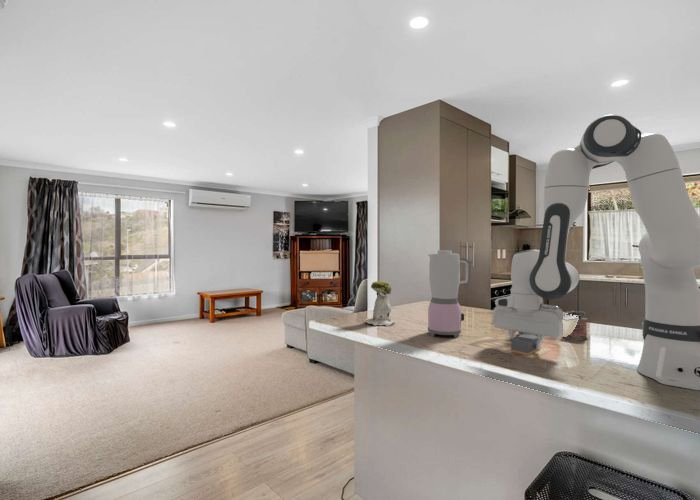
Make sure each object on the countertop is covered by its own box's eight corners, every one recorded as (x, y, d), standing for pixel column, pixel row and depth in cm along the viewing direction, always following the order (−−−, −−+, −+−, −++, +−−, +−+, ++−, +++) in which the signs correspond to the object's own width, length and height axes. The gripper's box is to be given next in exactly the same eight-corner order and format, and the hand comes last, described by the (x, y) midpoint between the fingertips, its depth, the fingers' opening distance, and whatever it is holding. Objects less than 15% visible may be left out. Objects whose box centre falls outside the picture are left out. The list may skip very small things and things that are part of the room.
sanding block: (540, 349, 116) (540, 336, 116) (528, 355, 110) (528, 341, 110) (524, 346, 120) (524, 333, 119) (511, 351, 114) (511, 338, 113)
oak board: (551, 354, 116) (552, 349, 116) (533, 364, 106) (533, 358, 106) (485, 340, 132) (485, 336, 132) (464, 348, 123) (464, 343, 123)
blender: (428, 337, 136) (428, 250, 136) (426, 330, 148) (426, 250, 148) (472, 339, 134) (473, 250, 133) (467, 331, 146) (467, 250, 145)
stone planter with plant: (364, 320, 167) (364, 279, 167) (393, 320, 167) (393, 279, 167) (365, 326, 155) (365, 282, 155) (396, 326, 155) (396, 282, 155)
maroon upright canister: (563, 339, 134) (564, 311, 134) (560, 336, 138) (561, 309, 138) (588, 340, 132) (589, 312, 132) (585, 338, 136) (585, 310, 136)
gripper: (567, 305, 109) (566, 352, 109) (499, 297, 124) (499, 338, 124) (559, 307, 105) (558, 356, 105) (490, 299, 120) (490, 342, 120)
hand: (525, 346), depth 115 cm, fingers closed on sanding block, 5 cm apart
